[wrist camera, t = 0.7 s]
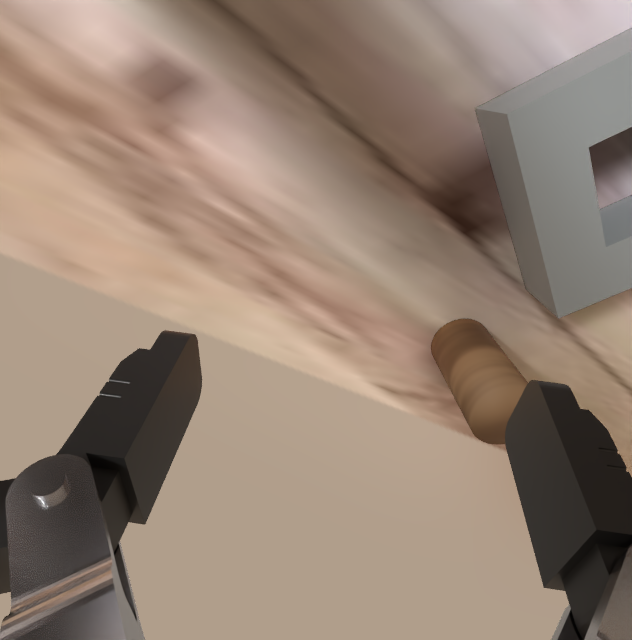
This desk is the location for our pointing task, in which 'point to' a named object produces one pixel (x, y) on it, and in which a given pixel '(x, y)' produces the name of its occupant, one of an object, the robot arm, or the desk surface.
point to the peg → (478, 377)
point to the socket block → (564, 176)
